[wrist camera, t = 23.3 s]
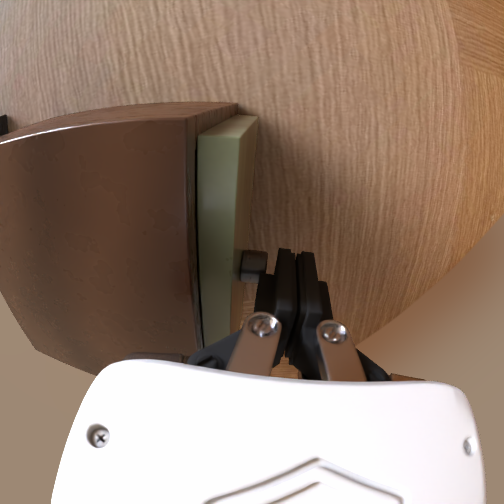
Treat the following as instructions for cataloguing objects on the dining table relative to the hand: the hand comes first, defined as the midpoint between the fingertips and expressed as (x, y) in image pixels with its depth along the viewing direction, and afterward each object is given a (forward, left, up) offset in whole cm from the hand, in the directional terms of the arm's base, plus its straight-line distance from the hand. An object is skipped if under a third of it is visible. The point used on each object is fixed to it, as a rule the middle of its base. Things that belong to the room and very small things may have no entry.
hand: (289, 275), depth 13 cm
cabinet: (0, +10, -5) cm, 11 cm away
